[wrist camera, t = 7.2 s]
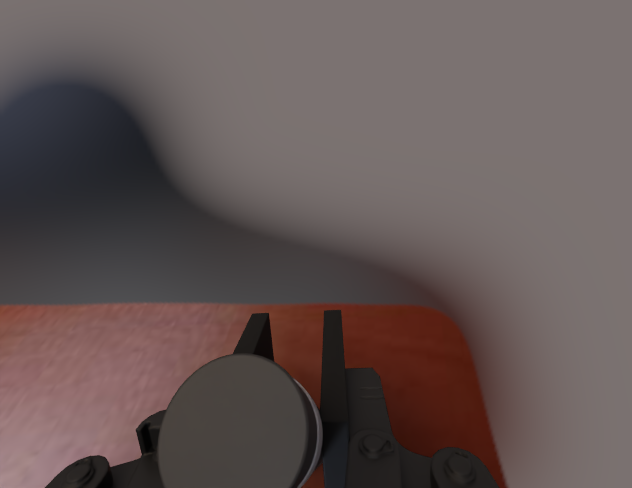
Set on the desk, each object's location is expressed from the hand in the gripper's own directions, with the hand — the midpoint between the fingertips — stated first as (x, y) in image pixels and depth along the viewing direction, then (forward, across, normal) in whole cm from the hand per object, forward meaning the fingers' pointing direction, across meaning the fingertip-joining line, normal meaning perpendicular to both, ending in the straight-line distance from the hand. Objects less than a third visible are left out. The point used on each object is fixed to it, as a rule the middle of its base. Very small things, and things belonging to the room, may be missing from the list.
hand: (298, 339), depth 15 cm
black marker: (0, 0, -6) cm, 6 cm away
